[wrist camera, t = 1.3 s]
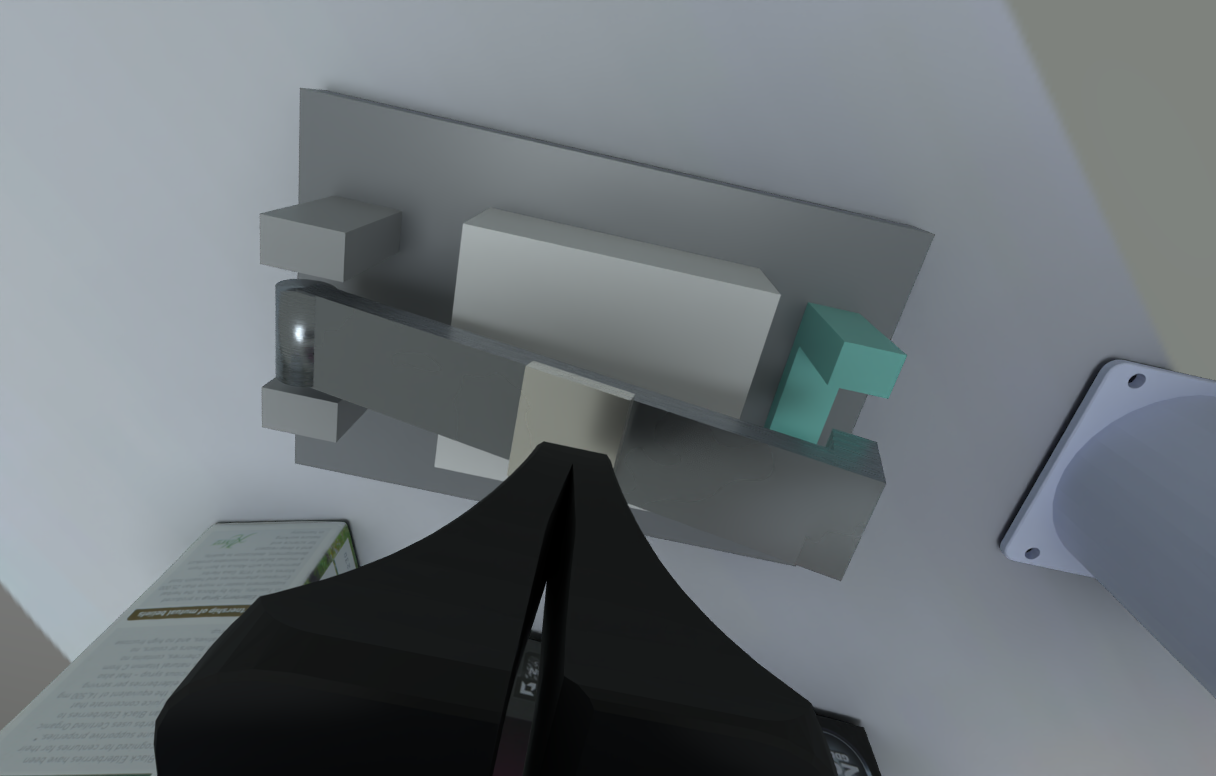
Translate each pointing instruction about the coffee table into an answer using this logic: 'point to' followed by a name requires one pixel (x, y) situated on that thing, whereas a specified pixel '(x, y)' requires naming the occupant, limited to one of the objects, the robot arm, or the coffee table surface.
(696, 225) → the clamp board
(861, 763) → the graphics card box
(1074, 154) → the coffee table surface
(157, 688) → the syrup box
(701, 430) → the clamp strap
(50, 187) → the coffee table surface
